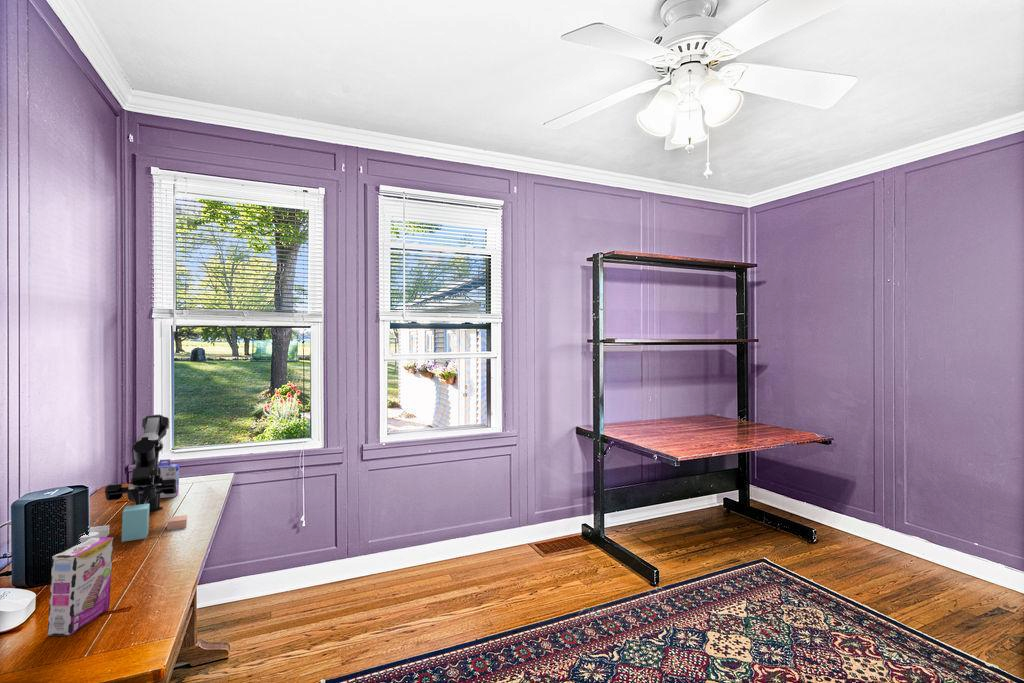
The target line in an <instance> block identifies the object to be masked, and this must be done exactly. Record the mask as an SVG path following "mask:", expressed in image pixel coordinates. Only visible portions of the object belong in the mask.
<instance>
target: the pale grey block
mask: <svg viewBox="0 0 1024 683" xmlns="http://www.w3.org/2000/svg"><path fill="white" fill-rule="evenodd" d="M90 532H98V533H99V537H109V534H110V524H106V525H98V526H92V527H91V526H90Z"/></svg>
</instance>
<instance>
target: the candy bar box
mask: <svg viewBox="0 0 1024 683" xmlns="http://www.w3.org/2000/svg"><path fill="white" fill-rule="evenodd" d="M79 543H80V542H79ZM77 544H78V543H77ZM77 544H76V545H74V546H71V547H70V548H67V549H65V550H63V551H61V552H59V553H57V554H55V555H53V556H51V558H52V560H51V573H50V574H51V575H50V591H49V601H48V602H49V604H48V605H49V606H48V620H47V621H48V624H47V636H48V637H49V636H51V637H52V636H53V637H54V636H58V637H59V636H63V637H64V636H66V637H67V636H71V635H73V634H75V633H76V632H78V631H79V630H80V629H81V628H84V627H85V626H86V625H87V624H89V623H90V622H92V621H93V620H94V619H96V618H98V617H99V616H100V615H102V614H104V613H105V612H106V611H108V610H109V609H110V600H111V583H112V582H111V581H112V565H113V548H114V546H113V545H114V537H111V536H110V537H109V536H107V537H99V538H90V539H88V540H86V541H84V542H82V543H80V544H78V545H77Z"/></svg>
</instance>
